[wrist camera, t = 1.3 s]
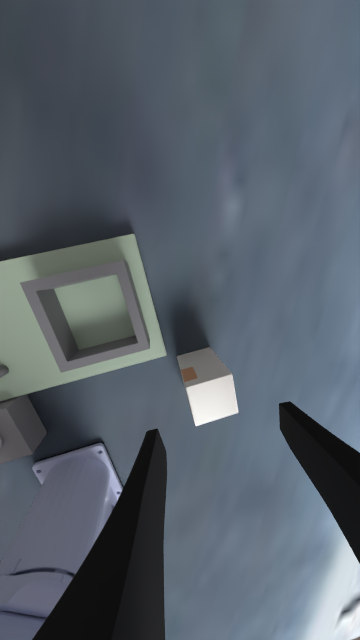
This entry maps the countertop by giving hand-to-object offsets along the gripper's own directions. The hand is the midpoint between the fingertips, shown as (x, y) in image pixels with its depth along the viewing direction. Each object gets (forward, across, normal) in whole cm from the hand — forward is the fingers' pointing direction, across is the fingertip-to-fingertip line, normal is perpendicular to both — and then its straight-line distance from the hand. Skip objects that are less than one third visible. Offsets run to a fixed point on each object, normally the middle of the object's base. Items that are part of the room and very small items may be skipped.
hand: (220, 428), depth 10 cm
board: (+9, +13, -6) cm, 18 cm away
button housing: (+8, +21, +2) cm, 23 cm away
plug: (+10, 0, +3) cm, 10 cm away
